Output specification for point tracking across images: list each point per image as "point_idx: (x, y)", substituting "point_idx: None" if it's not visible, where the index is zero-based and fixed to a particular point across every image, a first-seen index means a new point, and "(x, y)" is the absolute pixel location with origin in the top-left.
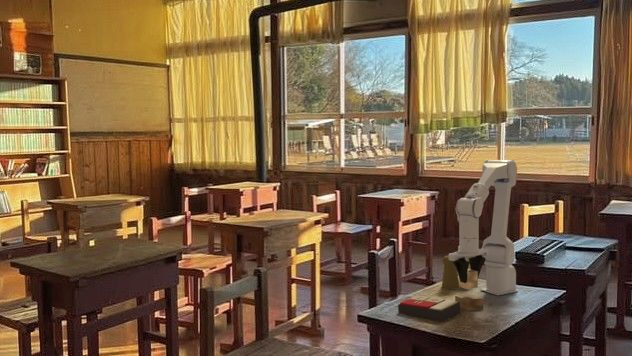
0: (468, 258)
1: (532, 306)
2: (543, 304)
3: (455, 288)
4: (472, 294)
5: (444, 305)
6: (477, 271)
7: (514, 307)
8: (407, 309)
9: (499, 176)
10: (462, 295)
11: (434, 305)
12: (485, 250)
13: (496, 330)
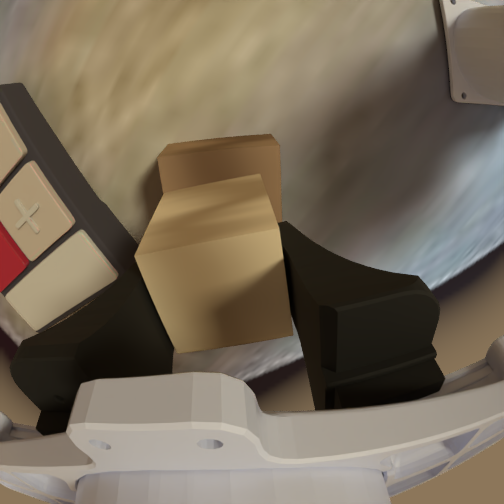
0: (316, 301)
1: (439, 267)
2: (475, 260)
3: None
4: (269, 174)
5: (51, 303)
6: (291, 333)
7: (389, 257)
8: None
9: None
10: (200, 170)
11: (21, 272)
12: (472, 452)
13: None
